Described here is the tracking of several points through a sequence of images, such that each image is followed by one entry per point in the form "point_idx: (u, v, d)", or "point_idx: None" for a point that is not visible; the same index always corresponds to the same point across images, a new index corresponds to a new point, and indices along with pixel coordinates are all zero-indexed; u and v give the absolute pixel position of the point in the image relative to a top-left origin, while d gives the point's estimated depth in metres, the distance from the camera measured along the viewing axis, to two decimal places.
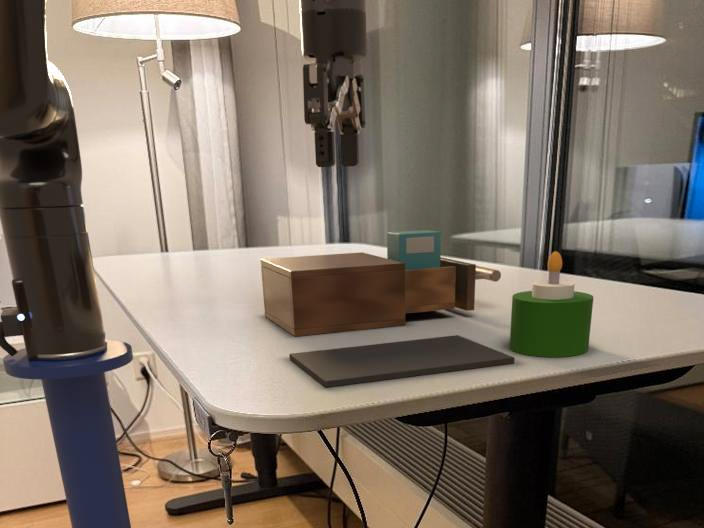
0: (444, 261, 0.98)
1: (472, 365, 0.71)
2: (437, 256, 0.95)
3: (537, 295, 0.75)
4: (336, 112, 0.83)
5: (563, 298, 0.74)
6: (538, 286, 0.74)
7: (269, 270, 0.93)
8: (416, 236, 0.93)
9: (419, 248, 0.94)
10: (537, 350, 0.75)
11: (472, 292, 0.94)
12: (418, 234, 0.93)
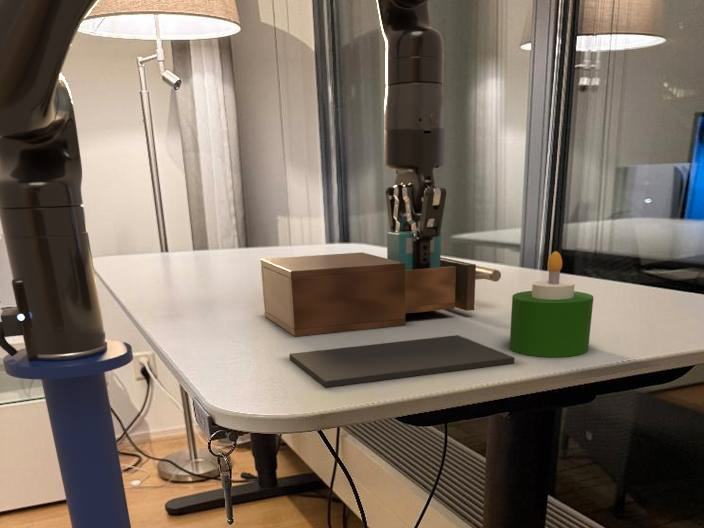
0: (444, 261, 0.98)
1: (472, 365, 0.71)
2: (437, 256, 0.95)
3: (537, 295, 0.75)
4: None
5: (563, 298, 0.74)
6: (538, 286, 0.74)
7: (269, 270, 0.93)
8: None
9: None
10: (537, 350, 0.75)
11: (472, 292, 0.94)
12: None
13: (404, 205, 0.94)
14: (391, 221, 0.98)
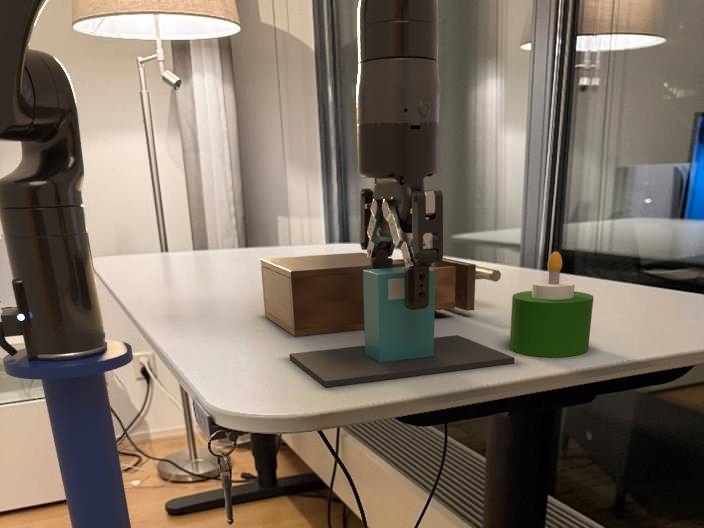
0: (444, 261, 0.98)
1: (472, 365, 0.71)
2: (430, 302, 0.71)
3: (537, 295, 0.75)
4: None
5: (563, 298, 0.74)
6: (538, 286, 0.74)
7: (269, 270, 0.93)
8: (401, 276, 0.69)
9: None
10: (537, 350, 0.75)
11: (472, 292, 0.94)
12: (404, 274, 0.69)
13: (385, 226, 0.69)
14: (363, 236, 0.75)
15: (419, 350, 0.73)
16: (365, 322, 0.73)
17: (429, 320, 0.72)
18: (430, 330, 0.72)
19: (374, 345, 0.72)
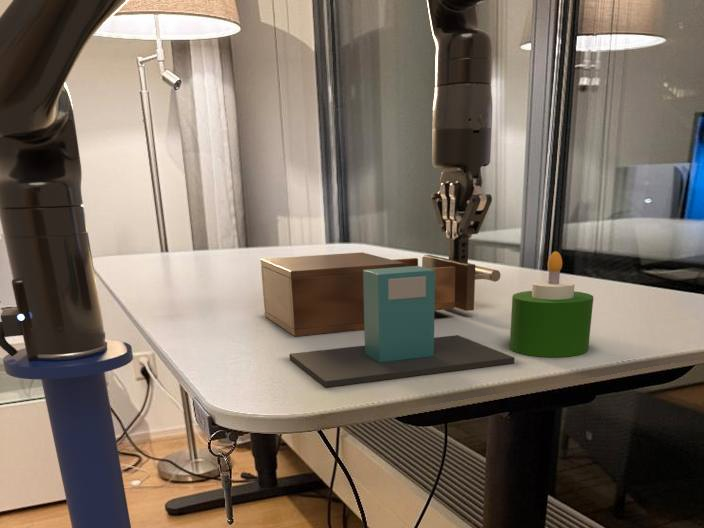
0: (444, 261, 0.98)
1: (472, 365, 0.71)
2: (430, 302, 0.71)
3: (537, 295, 0.75)
4: None
5: (563, 298, 0.74)
6: (538, 286, 0.74)
7: (269, 270, 0.93)
8: (401, 276, 0.69)
9: (406, 293, 0.70)
10: (537, 350, 0.75)
11: (472, 292, 0.94)
12: (404, 274, 0.69)
13: None
14: (441, 221, 0.99)
15: (419, 350, 0.73)
16: (365, 322, 0.73)
17: (429, 320, 0.72)
18: (430, 330, 0.72)
19: (374, 345, 0.72)
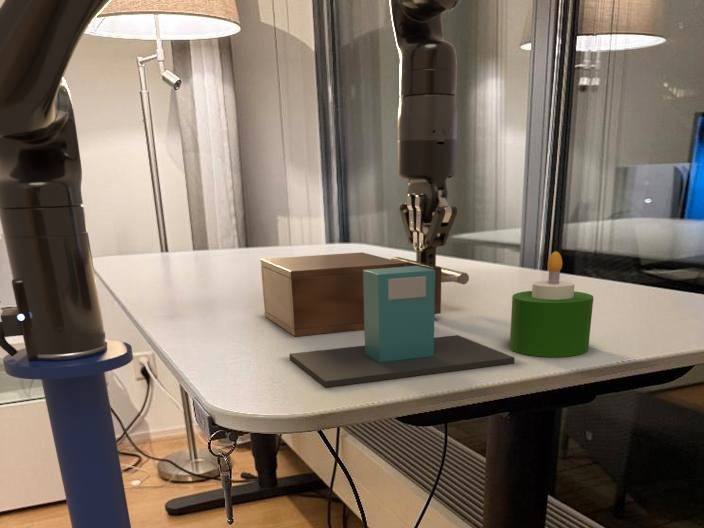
0: (411, 263, 0.96)
1: (472, 365, 0.71)
2: (430, 302, 0.71)
3: (537, 295, 0.75)
4: None
5: (563, 298, 0.74)
6: (538, 286, 0.74)
7: (269, 270, 0.93)
8: (401, 276, 0.69)
9: (406, 293, 0.70)
10: (537, 350, 0.75)
11: (438, 295, 0.92)
12: (404, 274, 0.69)
13: (417, 214, 0.95)
14: (408, 233, 0.98)
15: (419, 350, 0.73)
16: (365, 322, 0.73)
17: (429, 320, 0.72)
18: (430, 330, 0.72)
19: (374, 345, 0.72)
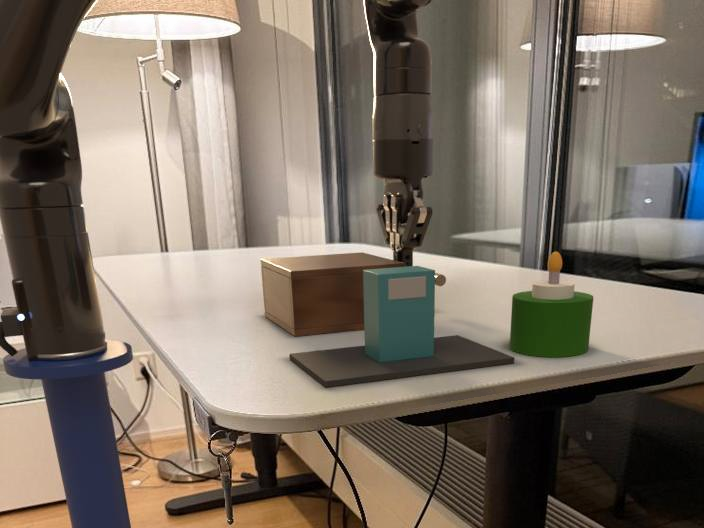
0: None
1: (472, 365, 0.71)
2: (430, 302, 0.71)
3: (537, 295, 0.75)
4: None
5: (563, 298, 0.74)
6: (538, 286, 0.74)
7: (269, 270, 0.93)
8: (401, 276, 0.69)
9: (406, 293, 0.70)
10: (537, 350, 0.75)
11: None
12: (404, 274, 0.69)
13: (393, 215, 0.94)
14: (385, 233, 0.97)
15: (419, 350, 0.73)
16: (365, 322, 0.73)
17: (429, 320, 0.72)
18: (430, 330, 0.72)
19: (374, 345, 0.72)
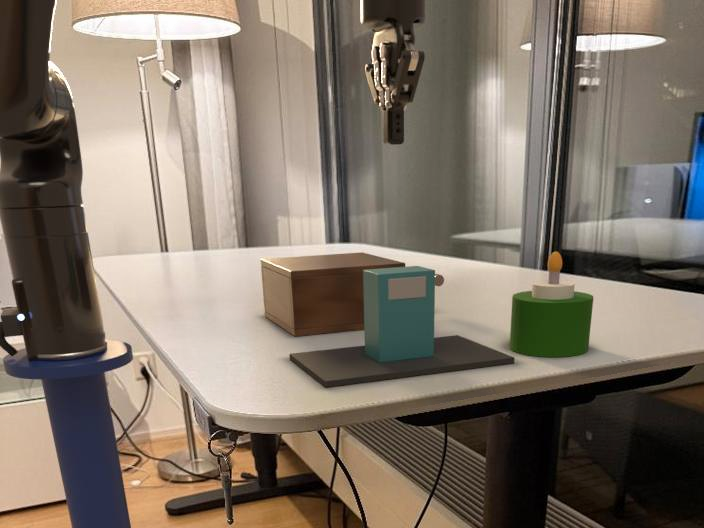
0: None
1: (472, 365, 0.71)
2: (430, 302, 0.71)
3: (537, 295, 0.75)
4: None
5: (563, 298, 0.74)
6: (538, 286, 0.74)
7: (269, 270, 0.93)
8: (401, 276, 0.69)
9: (406, 293, 0.70)
10: (537, 350, 0.75)
11: None
12: (404, 274, 0.69)
13: None
14: (375, 94, 0.90)
15: (419, 350, 0.73)
16: (365, 322, 0.73)
17: (429, 320, 0.72)
18: (430, 330, 0.72)
19: (374, 345, 0.72)
